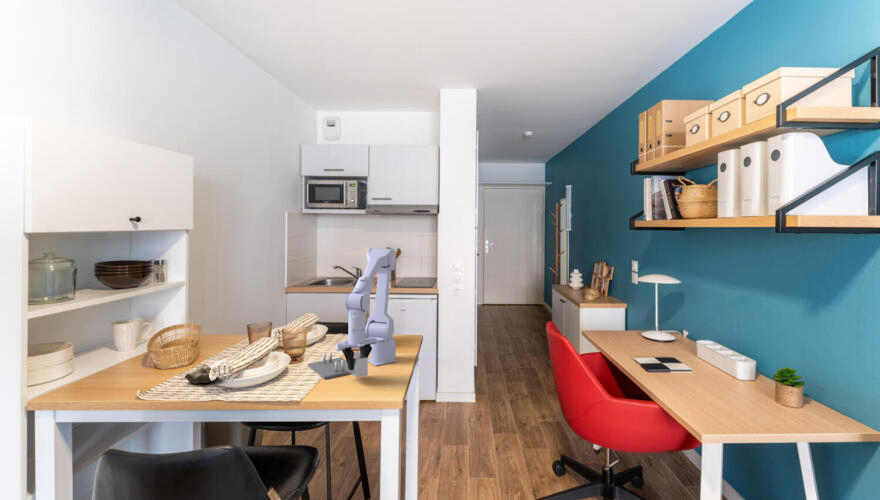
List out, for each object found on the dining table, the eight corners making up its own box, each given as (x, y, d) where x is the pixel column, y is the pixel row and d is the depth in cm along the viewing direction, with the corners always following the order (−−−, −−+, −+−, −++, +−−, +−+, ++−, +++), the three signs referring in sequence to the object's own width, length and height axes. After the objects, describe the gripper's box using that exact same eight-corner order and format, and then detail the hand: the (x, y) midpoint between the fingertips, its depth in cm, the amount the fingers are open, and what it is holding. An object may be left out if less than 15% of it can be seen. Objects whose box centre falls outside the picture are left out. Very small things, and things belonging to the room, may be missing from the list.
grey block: (356, 368, 143) (357, 351, 143) (367, 375, 136) (367, 357, 136) (346, 370, 141) (346, 353, 140) (356, 377, 134) (356, 359, 134)
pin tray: (340, 359, 160) (341, 348, 159) (359, 372, 147) (359, 359, 147) (308, 366, 152) (308, 354, 151) (324, 379, 139) (324, 366, 139)
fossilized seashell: (178, 380, 130) (210, 385, 130) (187, 359, 133) (218, 364, 133) (188, 384, 136) (218, 389, 137) (196, 364, 140) (226, 369, 140)
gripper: (341, 334, 130) (341, 376, 131) (381, 328, 139) (381, 367, 140) (332, 329, 136) (332, 369, 136) (372, 323, 144) (371, 361, 145)
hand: (356, 368), depth 138 cm, fingers closed on grey block, 4 cm apart
